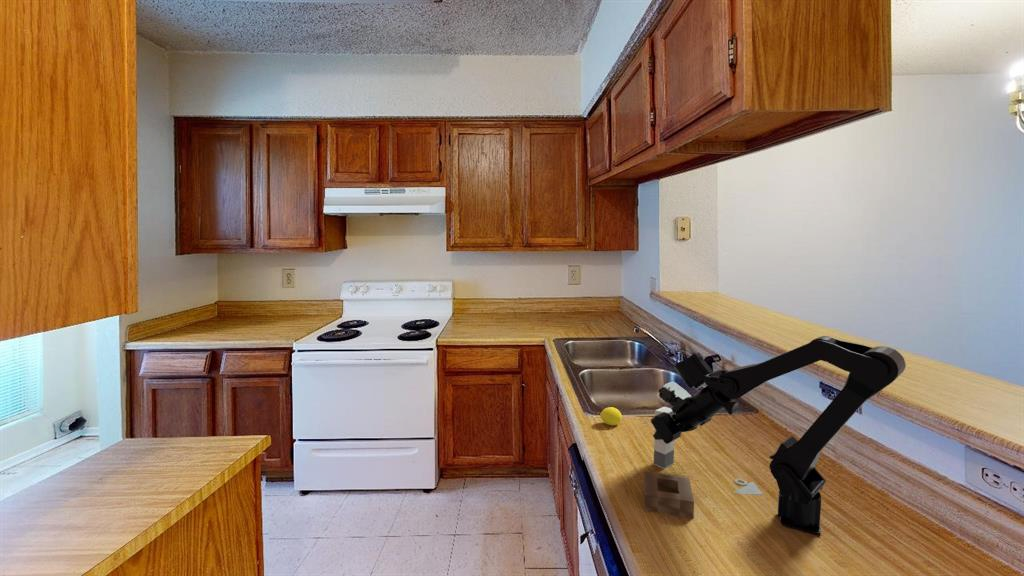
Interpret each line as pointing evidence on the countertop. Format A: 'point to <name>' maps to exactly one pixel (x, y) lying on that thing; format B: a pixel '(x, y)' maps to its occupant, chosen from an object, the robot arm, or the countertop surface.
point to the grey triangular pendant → (747, 488)
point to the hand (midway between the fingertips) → (659, 435)
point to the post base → (668, 494)
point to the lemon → (611, 416)
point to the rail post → (663, 446)
